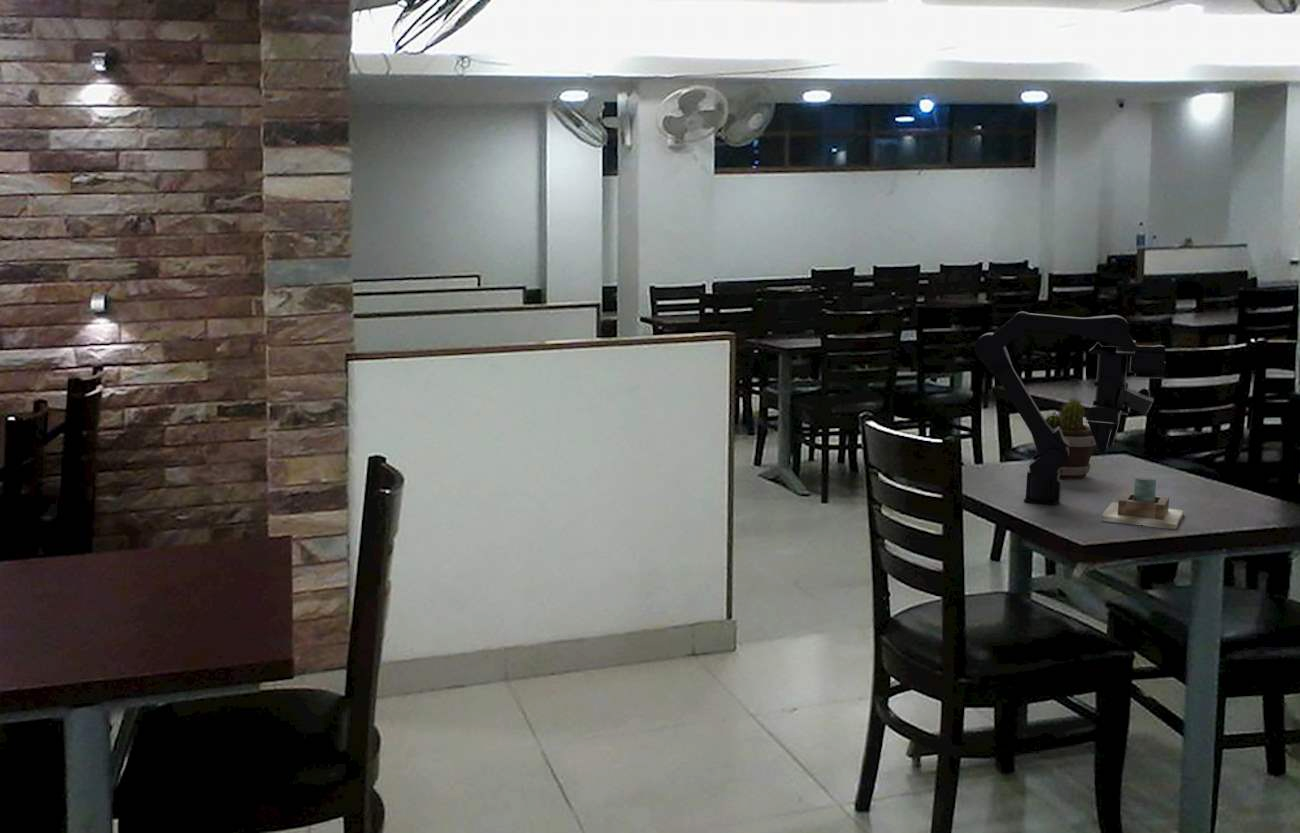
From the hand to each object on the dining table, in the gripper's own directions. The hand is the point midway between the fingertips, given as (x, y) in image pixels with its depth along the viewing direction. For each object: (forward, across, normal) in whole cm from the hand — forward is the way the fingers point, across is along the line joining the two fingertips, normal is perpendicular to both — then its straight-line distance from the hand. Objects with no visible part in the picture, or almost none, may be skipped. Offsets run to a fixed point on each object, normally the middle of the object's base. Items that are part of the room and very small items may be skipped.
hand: (1105, 450), depth 269 cm
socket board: (+12, -7, -9) cm, 17 cm away
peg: (+11, -7, -9) cm, 16 cm away
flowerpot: (+12, +28, +13) cm, 33 cm away
